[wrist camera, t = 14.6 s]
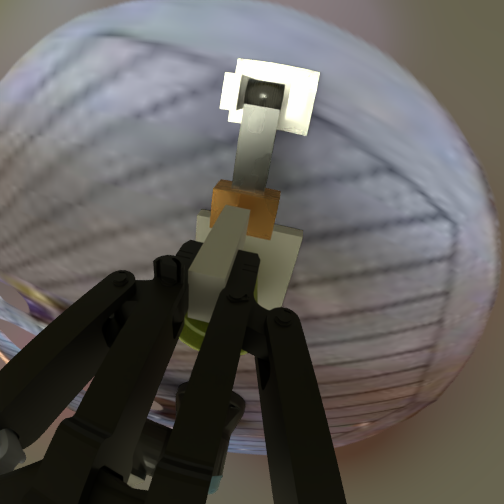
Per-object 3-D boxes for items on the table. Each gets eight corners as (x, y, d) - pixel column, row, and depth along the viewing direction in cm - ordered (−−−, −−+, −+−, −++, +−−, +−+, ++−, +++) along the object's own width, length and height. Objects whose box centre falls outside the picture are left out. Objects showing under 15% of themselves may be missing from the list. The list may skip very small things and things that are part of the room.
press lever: (273, 225, 21) (270, 240, 19) (217, 213, 21) (209, 227, 19) (302, 88, 15) (303, 87, 13) (236, 77, 16) (228, 75, 14)
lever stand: (305, 133, 23) (311, 154, 16) (231, 119, 24) (201, 133, 16) (318, 73, 20) (330, 62, 13) (241, 60, 20) (213, 45, 13)
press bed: (278, 309, 36) (277, 317, 34) (196, 291, 36) (193, 298, 35) (302, 230, 29) (302, 237, 28) (201, 209, 29) (197, 215, 28)
